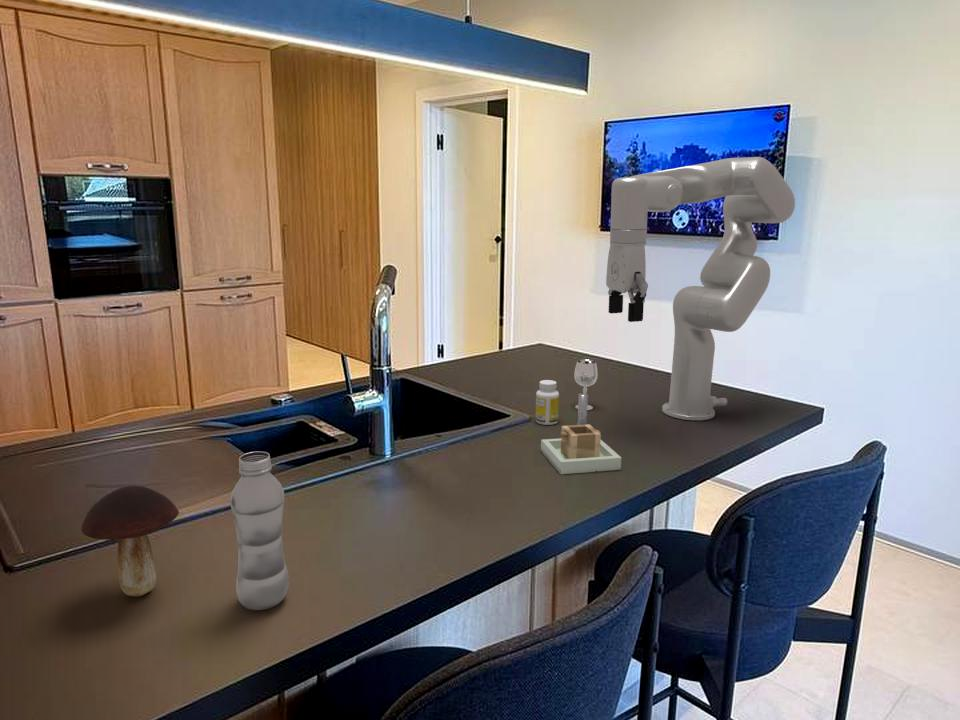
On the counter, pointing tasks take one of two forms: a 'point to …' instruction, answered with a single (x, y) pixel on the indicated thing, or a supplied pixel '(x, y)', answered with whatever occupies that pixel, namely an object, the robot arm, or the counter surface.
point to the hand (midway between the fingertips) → (625, 316)
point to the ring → (580, 441)
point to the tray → (580, 459)
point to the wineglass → (586, 375)
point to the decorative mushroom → (131, 531)
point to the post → (582, 409)
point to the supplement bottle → (547, 403)
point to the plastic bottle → (259, 533)
